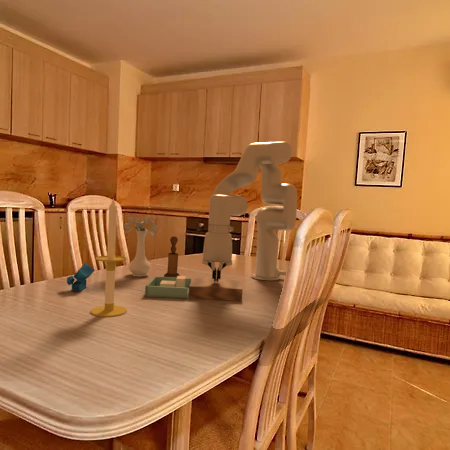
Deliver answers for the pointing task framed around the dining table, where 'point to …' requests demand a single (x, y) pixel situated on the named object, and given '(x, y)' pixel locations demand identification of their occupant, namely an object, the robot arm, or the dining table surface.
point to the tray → (166, 288)
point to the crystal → (80, 277)
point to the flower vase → (140, 244)
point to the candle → (110, 270)
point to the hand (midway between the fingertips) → (216, 280)
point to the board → (215, 289)
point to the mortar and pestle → (172, 260)
